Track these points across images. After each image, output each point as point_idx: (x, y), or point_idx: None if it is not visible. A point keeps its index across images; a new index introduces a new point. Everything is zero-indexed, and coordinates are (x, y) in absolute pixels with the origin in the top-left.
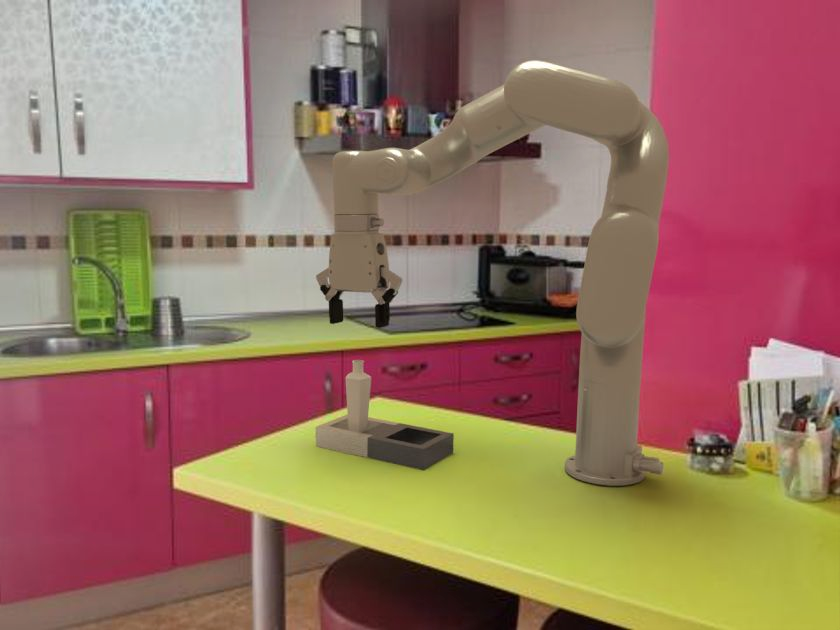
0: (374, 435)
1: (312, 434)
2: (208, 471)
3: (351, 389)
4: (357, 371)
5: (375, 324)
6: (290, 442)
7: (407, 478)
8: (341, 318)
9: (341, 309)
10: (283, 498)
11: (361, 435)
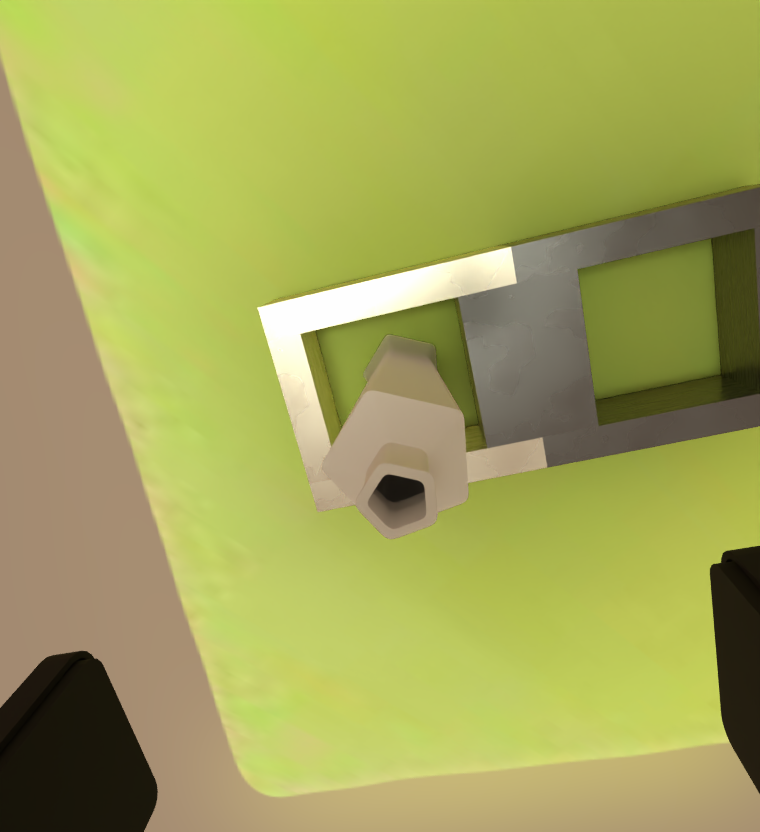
0: (549, 433)
1: (216, 413)
2: (308, 767)
3: (414, 491)
4: (421, 496)
5: (737, 755)
6: (243, 512)
7: (752, 478)
8: (91, 708)
9: (11, 805)
10: (583, 754)
11: (513, 466)
